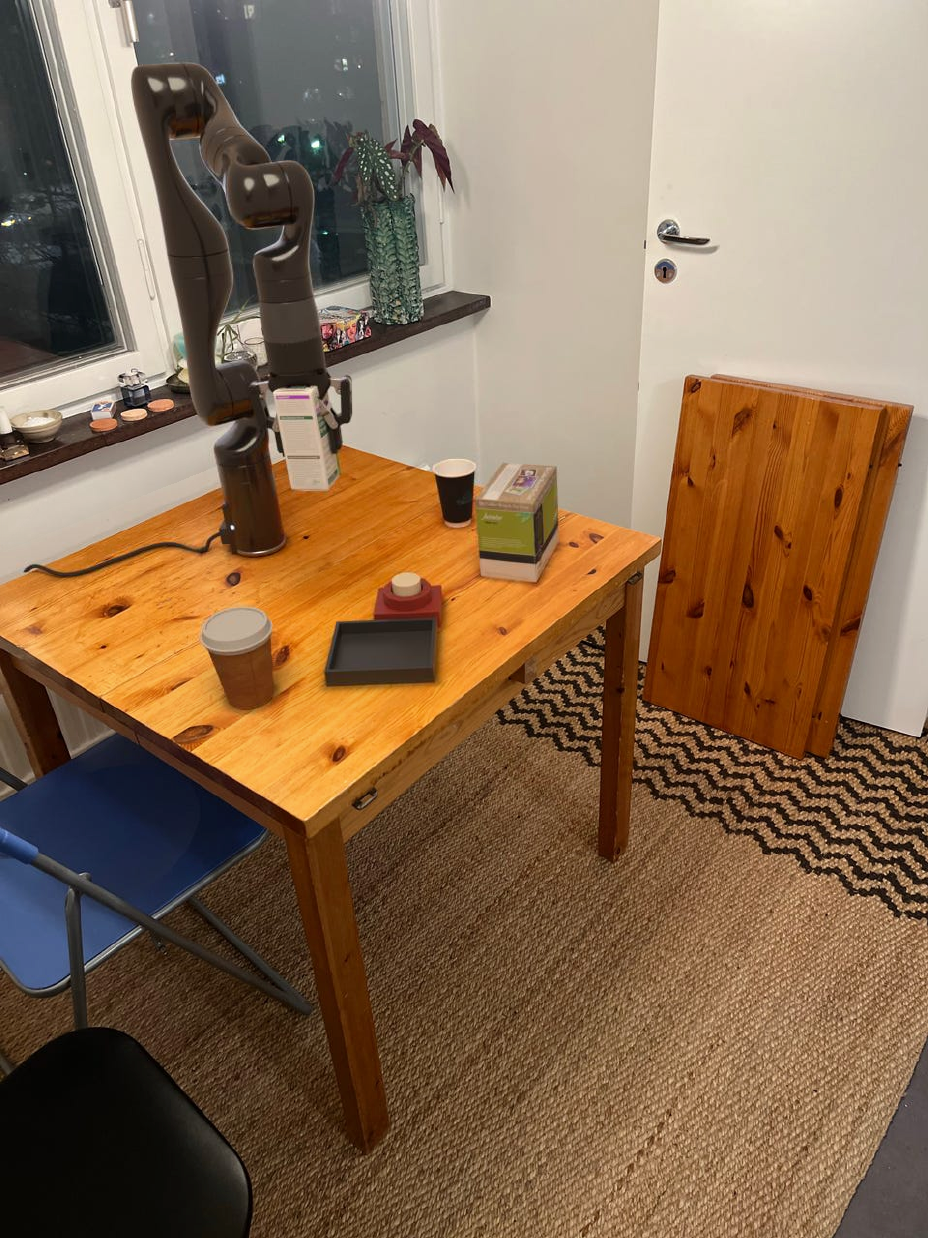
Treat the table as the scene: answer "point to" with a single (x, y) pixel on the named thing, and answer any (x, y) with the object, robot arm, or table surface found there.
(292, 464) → the syrup box
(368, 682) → the tray
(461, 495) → the dixie cup
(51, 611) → the table surface
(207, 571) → the table surface
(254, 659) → the disposable coffee cup
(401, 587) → the button
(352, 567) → the table surface
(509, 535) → the tea box
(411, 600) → the red square pod holder
